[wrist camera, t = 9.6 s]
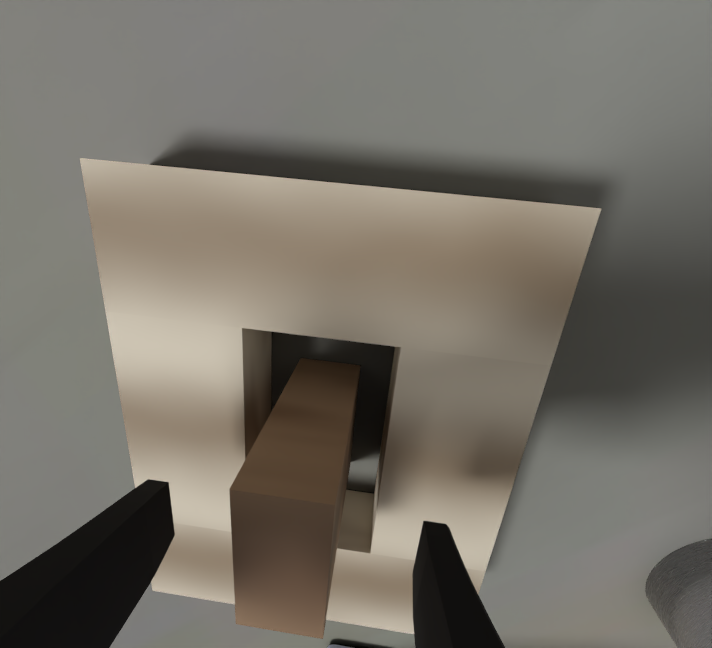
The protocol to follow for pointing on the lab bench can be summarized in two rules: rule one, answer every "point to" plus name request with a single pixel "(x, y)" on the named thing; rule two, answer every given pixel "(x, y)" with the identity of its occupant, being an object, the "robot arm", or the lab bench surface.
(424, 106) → the lab bench surface
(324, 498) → the walnut bar
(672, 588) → the cylinder
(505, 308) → the slot plate
